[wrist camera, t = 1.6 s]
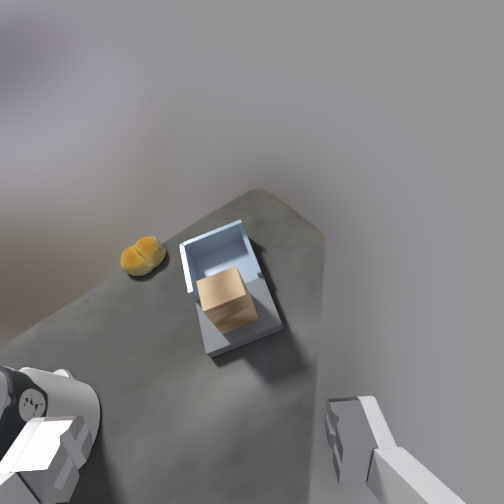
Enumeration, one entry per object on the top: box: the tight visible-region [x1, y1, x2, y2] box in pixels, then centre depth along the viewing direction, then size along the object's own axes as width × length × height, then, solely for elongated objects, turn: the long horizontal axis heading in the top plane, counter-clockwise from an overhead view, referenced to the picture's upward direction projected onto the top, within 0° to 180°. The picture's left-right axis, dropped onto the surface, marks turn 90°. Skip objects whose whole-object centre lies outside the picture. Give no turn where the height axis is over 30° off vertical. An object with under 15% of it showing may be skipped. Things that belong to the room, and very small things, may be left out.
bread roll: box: [121, 236, 166, 276], centre depth 59 cm, size 8×9×4 cm
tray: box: [179, 220, 263, 303], centre depth 52 cm, size 12×11×5 cm
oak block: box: [196, 266, 259, 334], centre depth 43 cm, size 6×5×8 cm
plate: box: [196, 277, 284, 358], centre depth 47 cm, size 12×9×2 cm
